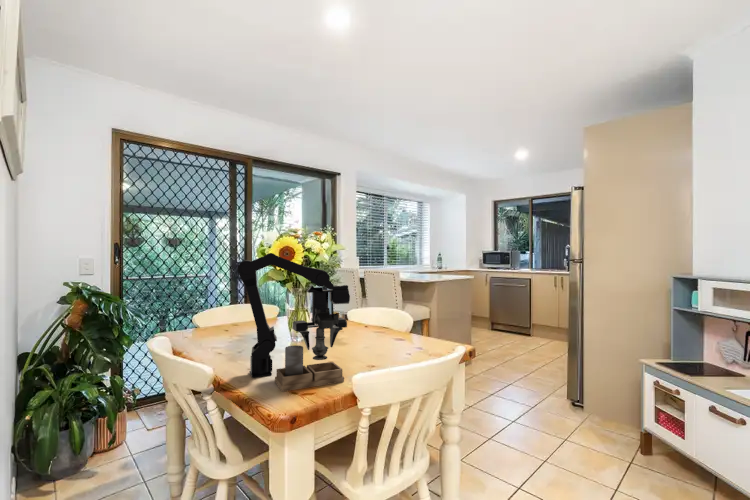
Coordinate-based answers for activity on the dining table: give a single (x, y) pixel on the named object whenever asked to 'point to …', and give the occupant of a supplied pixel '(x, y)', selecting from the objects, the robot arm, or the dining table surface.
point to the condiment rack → (305, 372)
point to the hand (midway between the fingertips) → (320, 348)
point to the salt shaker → (320, 345)
